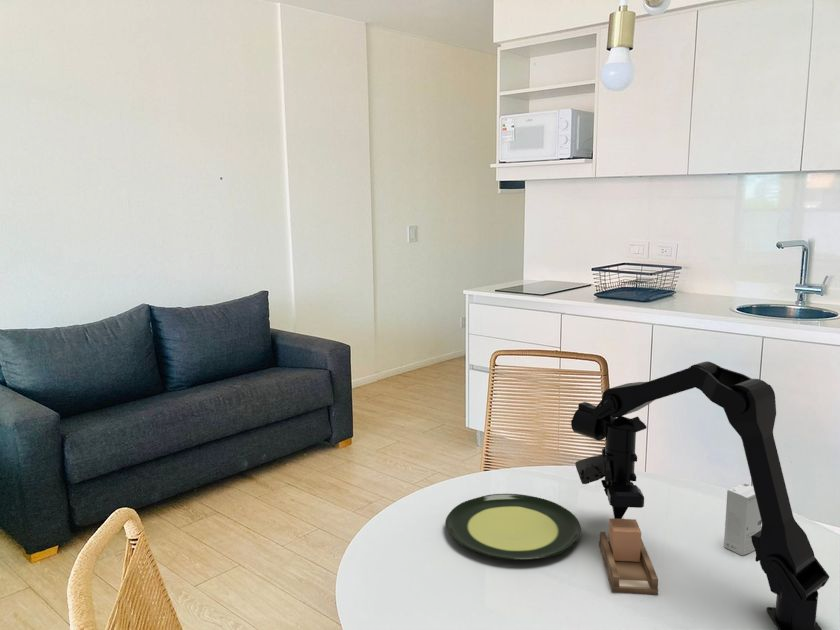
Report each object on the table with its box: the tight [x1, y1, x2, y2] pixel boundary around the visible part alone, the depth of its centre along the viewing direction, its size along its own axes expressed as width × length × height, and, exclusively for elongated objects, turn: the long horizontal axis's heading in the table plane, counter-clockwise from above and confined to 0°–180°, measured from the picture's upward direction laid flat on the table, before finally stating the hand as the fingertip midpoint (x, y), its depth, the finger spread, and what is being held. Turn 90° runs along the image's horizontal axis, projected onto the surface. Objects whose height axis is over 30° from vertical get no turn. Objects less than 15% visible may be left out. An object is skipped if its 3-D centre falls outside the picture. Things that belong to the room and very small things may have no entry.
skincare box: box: [723, 483, 762, 556], centre depth 130 cm, size 6×4×12 cm
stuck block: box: [608, 517, 642, 562], centre depth 126 cm, size 5×5×6 cm
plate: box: [444, 493, 582, 561], centre depth 138 cm, size 28×28×2 cm
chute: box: [598, 531, 659, 596], centre depth 123 cm, size 16×8×3 cm, turn 173°
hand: (617, 519), depth 134 cm, fingers closed
